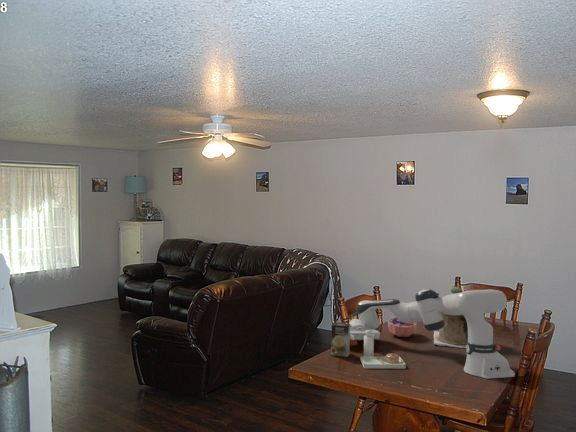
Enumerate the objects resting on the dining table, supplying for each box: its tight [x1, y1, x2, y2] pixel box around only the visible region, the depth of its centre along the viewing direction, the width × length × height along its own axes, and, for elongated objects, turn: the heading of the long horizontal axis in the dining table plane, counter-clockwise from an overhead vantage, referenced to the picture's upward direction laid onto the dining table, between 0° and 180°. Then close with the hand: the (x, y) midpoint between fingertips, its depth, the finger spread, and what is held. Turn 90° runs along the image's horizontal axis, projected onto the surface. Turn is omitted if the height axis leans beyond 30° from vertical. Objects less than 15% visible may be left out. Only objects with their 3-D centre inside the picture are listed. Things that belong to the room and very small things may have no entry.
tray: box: [359, 355, 407, 370], centre depth 251 cm, size 20×12×2 cm, turn 91°
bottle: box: [363, 330, 375, 357], centre depth 261 cm, size 5×5×14 cm
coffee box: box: [330, 321, 351, 358], centre depth 266 cm, size 9×6×16 cm
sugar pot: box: [385, 353, 400, 364], centre depth 251 cm, size 6×6×6 cm
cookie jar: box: [433, 285, 468, 349], centre depth 290 cm, size 25×25×32 cm
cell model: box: [387, 317, 418, 338], centre depth 302 cm, size 17×20×11 cm
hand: (363, 338), depth 271 cm, fingers open, 8 cm apart
